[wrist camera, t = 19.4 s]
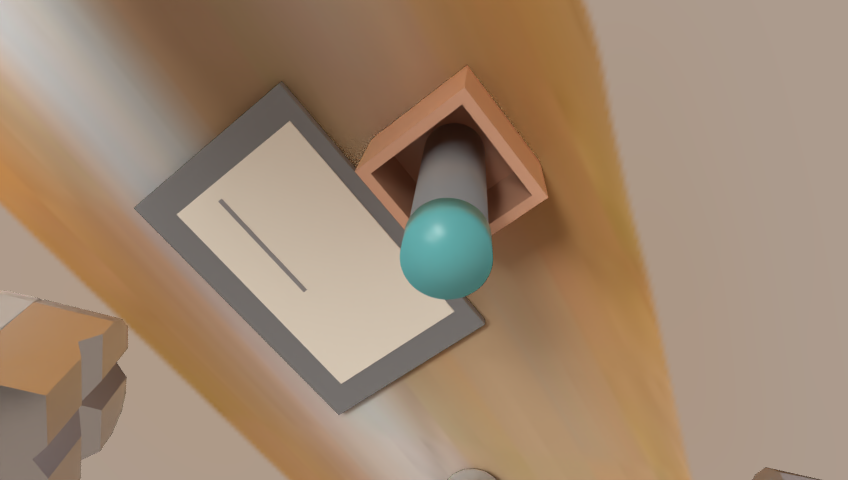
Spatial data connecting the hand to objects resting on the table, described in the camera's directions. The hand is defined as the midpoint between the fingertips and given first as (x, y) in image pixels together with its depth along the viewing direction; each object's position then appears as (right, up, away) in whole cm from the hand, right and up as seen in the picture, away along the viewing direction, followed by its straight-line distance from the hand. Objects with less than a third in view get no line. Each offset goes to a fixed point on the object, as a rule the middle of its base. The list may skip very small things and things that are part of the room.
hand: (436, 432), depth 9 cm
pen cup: (+2, +8, +32) cm, 33 cm away
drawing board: (-7, +1, +36) cm, 37 cm away
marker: (+2, +8, +32) cm, 33 cm away
